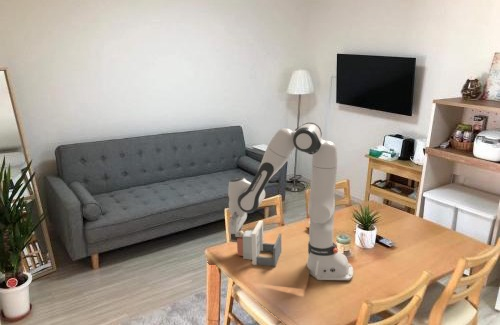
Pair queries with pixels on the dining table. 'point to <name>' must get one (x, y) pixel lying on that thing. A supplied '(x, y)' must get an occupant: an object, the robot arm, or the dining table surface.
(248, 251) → the supplement box
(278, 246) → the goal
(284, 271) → the dining table surface
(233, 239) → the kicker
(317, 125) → the robot arm
